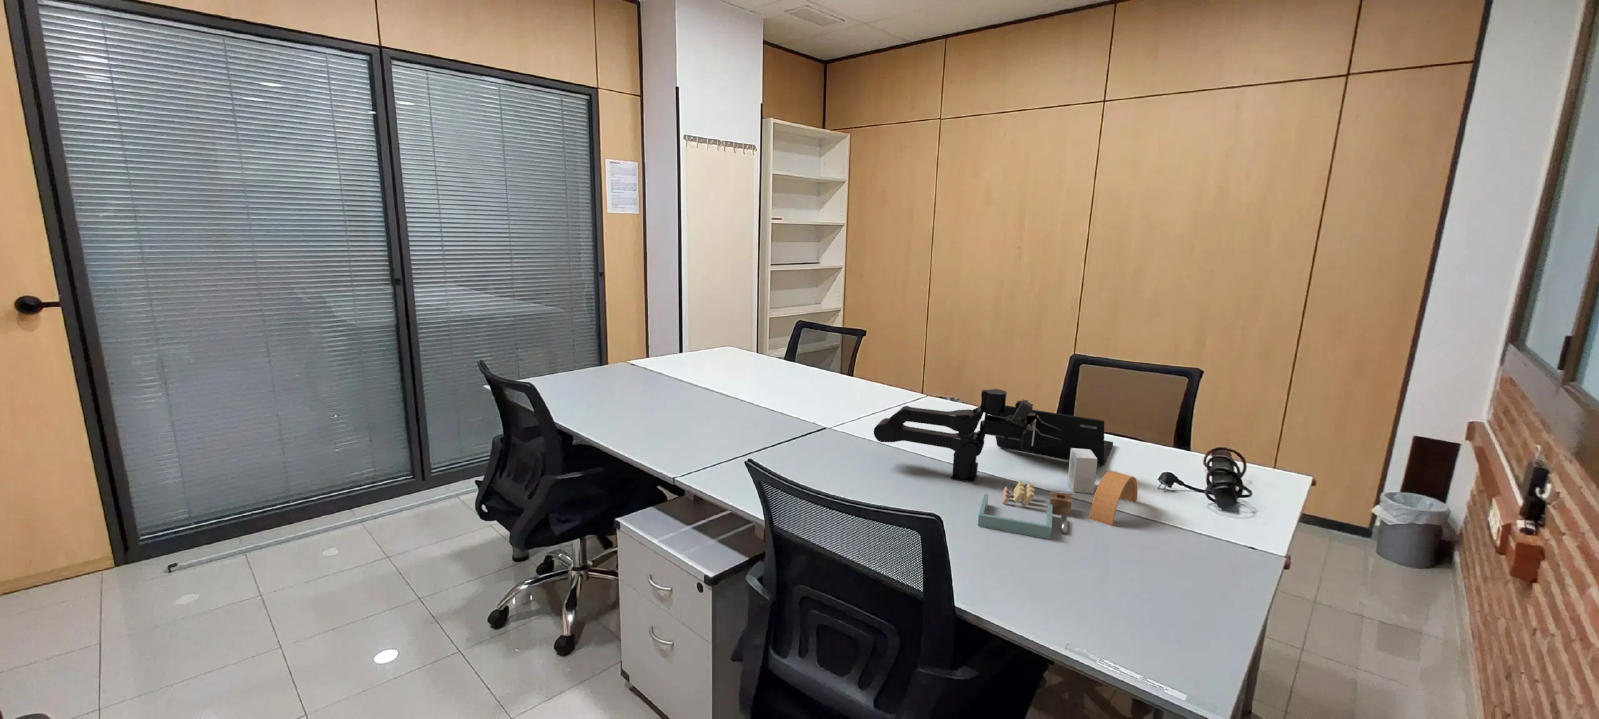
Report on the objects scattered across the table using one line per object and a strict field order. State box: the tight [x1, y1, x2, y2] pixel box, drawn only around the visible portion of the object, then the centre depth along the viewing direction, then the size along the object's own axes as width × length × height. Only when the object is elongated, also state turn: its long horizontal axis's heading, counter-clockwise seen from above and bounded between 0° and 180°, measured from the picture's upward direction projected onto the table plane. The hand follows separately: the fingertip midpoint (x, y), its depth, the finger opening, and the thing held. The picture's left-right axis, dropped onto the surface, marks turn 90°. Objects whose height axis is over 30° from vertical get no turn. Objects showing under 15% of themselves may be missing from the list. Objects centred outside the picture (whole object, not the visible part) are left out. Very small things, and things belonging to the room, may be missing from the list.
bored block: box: [1049, 491, 1072, 517], centre depth 167 cm, size 5×5×4 cm
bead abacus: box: [1001, 480, 1035, 508], centre depth 172 cm, size 5×7×8 cm
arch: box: [1088, 470, 1139, 527], centre depth 167 cm, size 6×20×10 cm, turn 136°
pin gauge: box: [1060, 515, 1068, 535], centre depth 158 cm, size 1×8×1 cm, turn 158°
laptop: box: [995, 404, 1114, 467], centre depth 208 cm, size 33×38×19 cm
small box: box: [1067, 448, 1098, 494], centre depth 181 cm, size 8×6×10 cm
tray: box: [977, 493, 1053, 540], centre depth 161 cm, size 17×14×3 cm
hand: (1061, 436), depth 176 cm, fingers open, 9 cm apart
